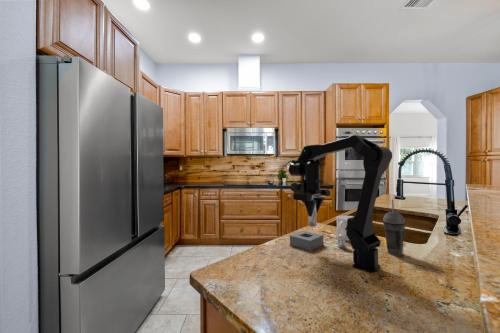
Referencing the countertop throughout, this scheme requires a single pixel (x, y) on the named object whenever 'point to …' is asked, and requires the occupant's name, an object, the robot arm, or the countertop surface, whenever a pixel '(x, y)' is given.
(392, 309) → the countertop surface
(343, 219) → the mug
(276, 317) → the countertop surface
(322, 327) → the countertop surface
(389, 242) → the beverage cup
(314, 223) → the long pin
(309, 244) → the hole block
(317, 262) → the countertop surface
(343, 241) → the short pin
